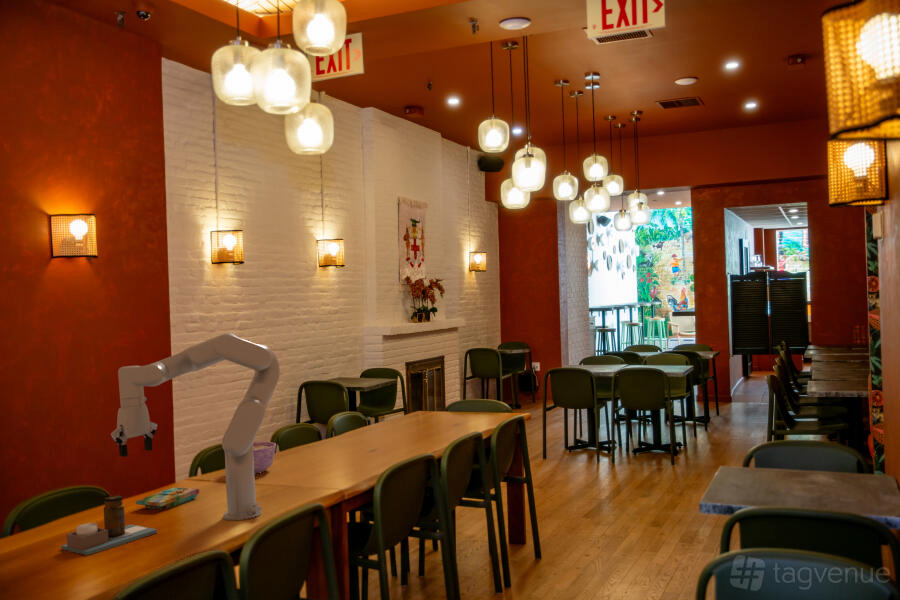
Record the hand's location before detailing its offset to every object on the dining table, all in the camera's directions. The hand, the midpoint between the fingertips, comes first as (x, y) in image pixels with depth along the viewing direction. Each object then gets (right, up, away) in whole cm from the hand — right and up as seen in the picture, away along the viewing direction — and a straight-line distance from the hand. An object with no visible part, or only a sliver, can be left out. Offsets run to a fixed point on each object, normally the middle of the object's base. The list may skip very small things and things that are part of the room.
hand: (136, 453), depth 257 cm
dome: (-6, -21, -21) cm, 31 cm away
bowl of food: (+20, -24, +77) cm, 83 cm away
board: (-2, -25, -15) cm, 29 cm away
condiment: (-1, -24, -13) cm, 27 cm away
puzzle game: (0, -25, +29) cm, 38 cm away
